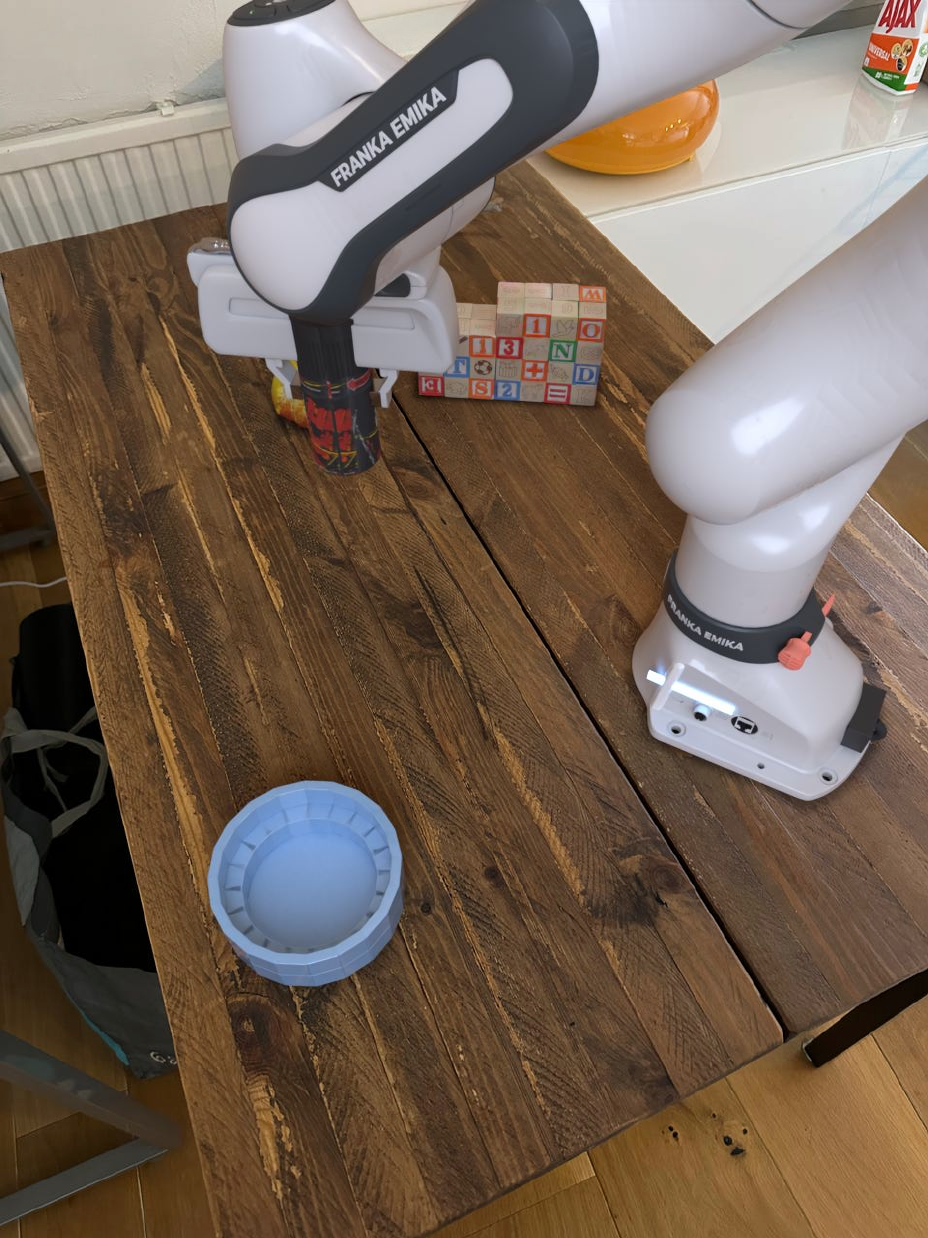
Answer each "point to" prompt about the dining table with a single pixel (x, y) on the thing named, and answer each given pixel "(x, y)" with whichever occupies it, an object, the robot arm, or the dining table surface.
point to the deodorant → (336, 398)
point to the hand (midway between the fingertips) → (340, 398)
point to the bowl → (308, 882)
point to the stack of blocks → (528, 346)
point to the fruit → (288, 403)
